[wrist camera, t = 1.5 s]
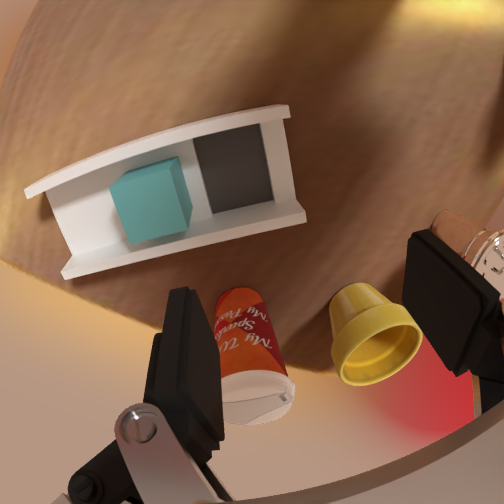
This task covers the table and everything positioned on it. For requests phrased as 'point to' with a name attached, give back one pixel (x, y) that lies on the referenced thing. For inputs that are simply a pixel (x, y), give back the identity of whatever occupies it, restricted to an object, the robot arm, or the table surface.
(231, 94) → the table surface
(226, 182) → the trap channel
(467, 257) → the cup with straw
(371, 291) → the plant pot
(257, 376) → the paper cup
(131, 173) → the teal block
